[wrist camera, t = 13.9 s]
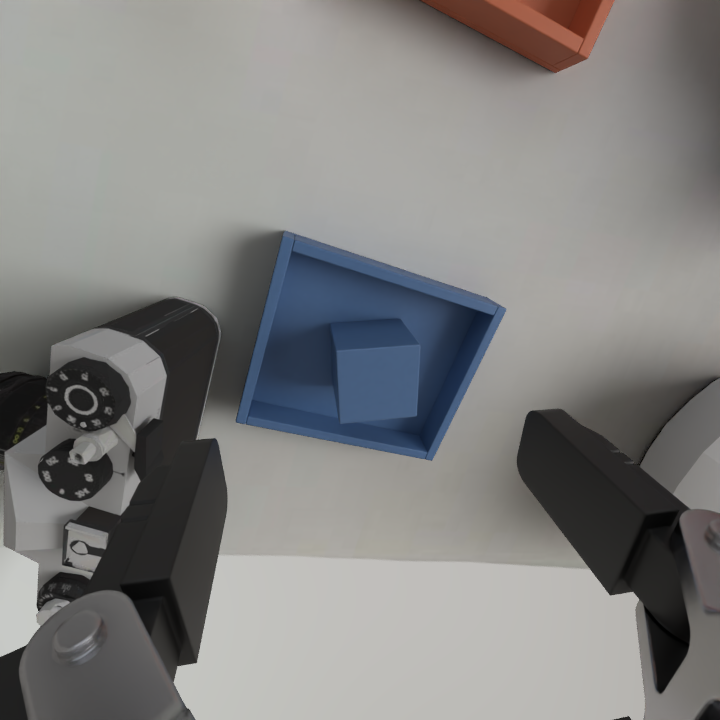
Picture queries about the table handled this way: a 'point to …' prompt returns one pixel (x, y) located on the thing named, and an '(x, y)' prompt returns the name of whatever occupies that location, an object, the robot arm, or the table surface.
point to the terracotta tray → (535, 26)
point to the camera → (98, 435)
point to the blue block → (374, 370)
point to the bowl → (690, 452)
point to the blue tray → (348, 304)
